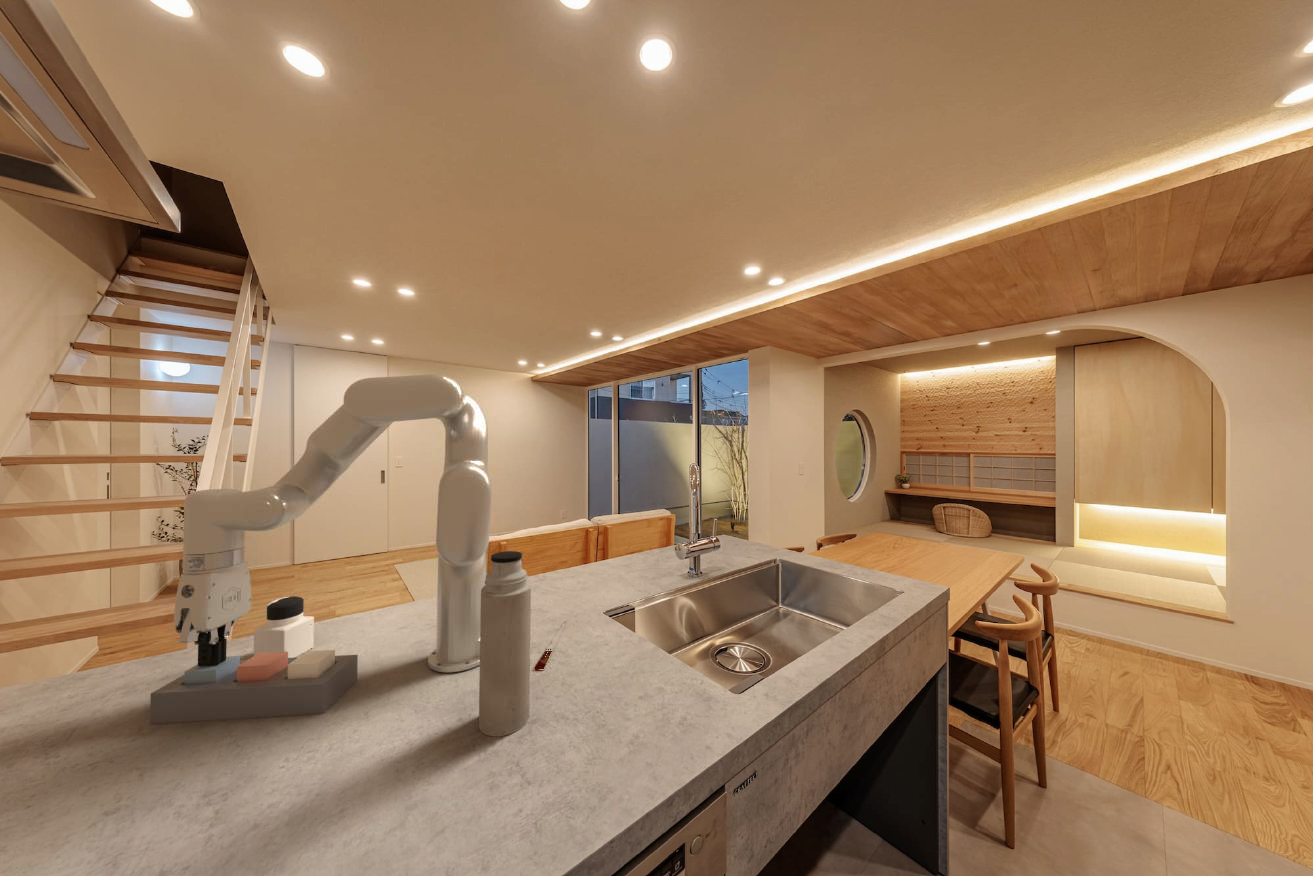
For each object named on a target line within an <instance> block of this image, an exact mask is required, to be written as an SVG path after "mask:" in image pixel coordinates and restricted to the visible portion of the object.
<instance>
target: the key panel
mask: <svg viewBox="0 0 1313 876" xmlns="http://www.w3.org/2000/svg"><path fill="white" fill-rule="evenodd" d="M298 657H299V656H297V657H296V658H288V664H290V663H291V662H292V661H294V660H295V659H297V658H298ZM358 657H359V655H358V654H343V655H335V664H334V665H333V666H332V667H331V668H330V669H328V670H327V671H326V672H325V673H323V674H322V675H321V676H320V677H319V678H302V679H288V666H287V667H286V668H285V669H283V670H282V671H280V672H279V673H278V674H276V675H275V676H273V677H272V678H271V679H269V680H264V681H245V682H237V670H236V671H235V672H233V673H232V674H230V675H228V676H227V677H225V678H224V679H222V680H220V681H219V682H217V683H207V684H187V685H184V676H185V674H183V675H181V676H180V677H177V678H176V679H173V681H171V682H169V683H166V684H165V685H163V686H161V687H160V688H157V689H156V690H155V691H152V692H150V713H149V714H150V715H149V724H150V725H157V724H172V723H173V724H175V723H189V722H204V721H205V722H207V721H208V722H209V721H221V720H222V721H223V720H237V719H238V720H239V719H254V718H255V719H256V718H269V717H270V718H271V717H272V718H273V717H288V716H302V715H303V716H304V715H318V714H319V715H321V714H324V713H325V712H326V711H327V710H329V709H330V708H331V707H332V706H333V705H334V704H335V703H336V702H337V701H338V700H339V699H340V698H341V697H342V696H343V695H344V694H345V693H346V692H347V691H348V690H349V689H350V688H351V687H352V686H353V685H355V683H356V682H357V681H358V662H359V661H358ZM247 660H248V659H240V664H242V663H244V662H245V661H247Z"/></svg>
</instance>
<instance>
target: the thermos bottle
mask: <svg viewBox="0 0 1313 876" xmlns="http://www.w3.org/2000/svg"><path fill="white" fill-rule="evenodd" d="M522 557H523V555H522V552H519V551H516V550H515V551H514V550H508V551H499V552H495V553H493V554H491V556H490V560H491V564H490V565H491V566H490V567H491V568H490V569H491V570H490V571H489V572H487V573H486V580H485V586H484V587H483V588H482V589H481V613H480V665H479V685H478V686H479V689H478V690H479V692H478V695H479V696H478V698H479V699H478V727H479V730H480V732H482V733H483V734H485V735H487V736H491V737H503V736H507V735H510V734H512V733H515V732H517V731H519V730H521V729H523V727H525V725H526V724H527V723H528V720H529V719H530V685H531V683H530V679H531V672H530V671H531V619H532V618H531V611H532V609H531V607H532V606H531V604H532V585H531V583H530V582H529V581H528V573H527V570H526V569H523V568H522V566H523V565H522V564H523V563H522V561H523V560H522Z"/></svg>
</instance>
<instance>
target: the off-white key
mask: <svg viewBox="0 0 1313 876" xmlns="http://www.w3.org/2000/svg"><path fill="white" fill-rule="evenodd" d="M335 656H336V650H335V649H324V650H309V651H306V652H305V653H303V654H301V655H299V656H297V657H298V658H297V657H296V658H297V659H295V660H294V661H292V662H291V663H290V664H288V679H302V678H319V677H320V676H321V675H322V674H323V673H325V672H326V671H327V670H328V669H330V668H331V667H332V666H333V665H334V664H335Z"/></svg>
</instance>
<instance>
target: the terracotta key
mask: <svg viewBox="0 0 1313 876" xmlns="http://www.w3.org/2000/svg"><path fill="white" fill-rule="evenodd" d="M246 660H247V661H245V662H244V663H242V664H240V665H239V666H237V682H245V681H264V680H269V679H271V678H272V677H273V676H275V675H276V674H278V673H279V672H280V671H282V670H283V669H285V668H286V667H287V666H288V652H266V653H258V654H257V655H255V656H254V655H253V656H251V658H249V659H246Z"/></svg>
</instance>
